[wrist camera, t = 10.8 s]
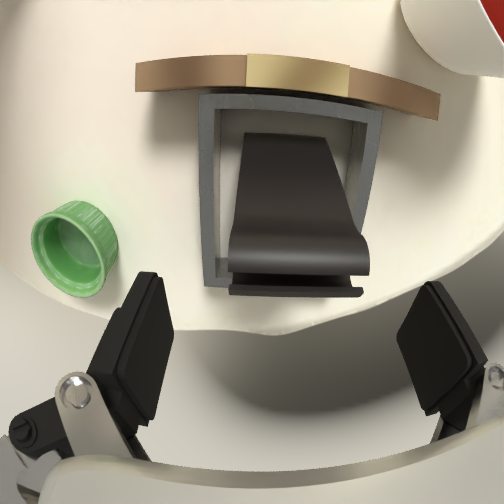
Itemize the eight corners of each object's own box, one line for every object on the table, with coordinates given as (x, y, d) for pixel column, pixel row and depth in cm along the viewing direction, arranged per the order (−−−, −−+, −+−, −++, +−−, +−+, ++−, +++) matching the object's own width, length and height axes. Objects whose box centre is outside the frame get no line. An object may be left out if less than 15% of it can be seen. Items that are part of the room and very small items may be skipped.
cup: (476, 92, 15) (556, 111, 7) (389, 45, 15) (468, 26, 6) (481, 11, 10) (550, 6, 1) (395, -40, 9) (454, -80, 1)
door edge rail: (156, 92, 18) (133, 92, 14) (157, 67, 16) (133, 62, 13) (411, 115, 17) (439, 121, 14) (413, 91, 16) (442, 93, 13)
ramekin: (104, 286, 28) (87, 312, 24) (46, 238, 25) (24, 259, 21) (138, 233, 24) (119, 259, 20) (70, 176, 21) (42, 194, 17)
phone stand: (245, 131, 19) (225, 172, 9) (324, 137, 19) (392, 185, 9) (243, 237, 24) (230, 349, 14) (312, 240, 24) (342, 350, 14)
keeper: (209, 266, 26) (204, 286, 23) (207, 94, 18) (199, 94, 15) (337, 272, 26) (344, 292, 23) (367, 109, 18) (382, 112, 15)
